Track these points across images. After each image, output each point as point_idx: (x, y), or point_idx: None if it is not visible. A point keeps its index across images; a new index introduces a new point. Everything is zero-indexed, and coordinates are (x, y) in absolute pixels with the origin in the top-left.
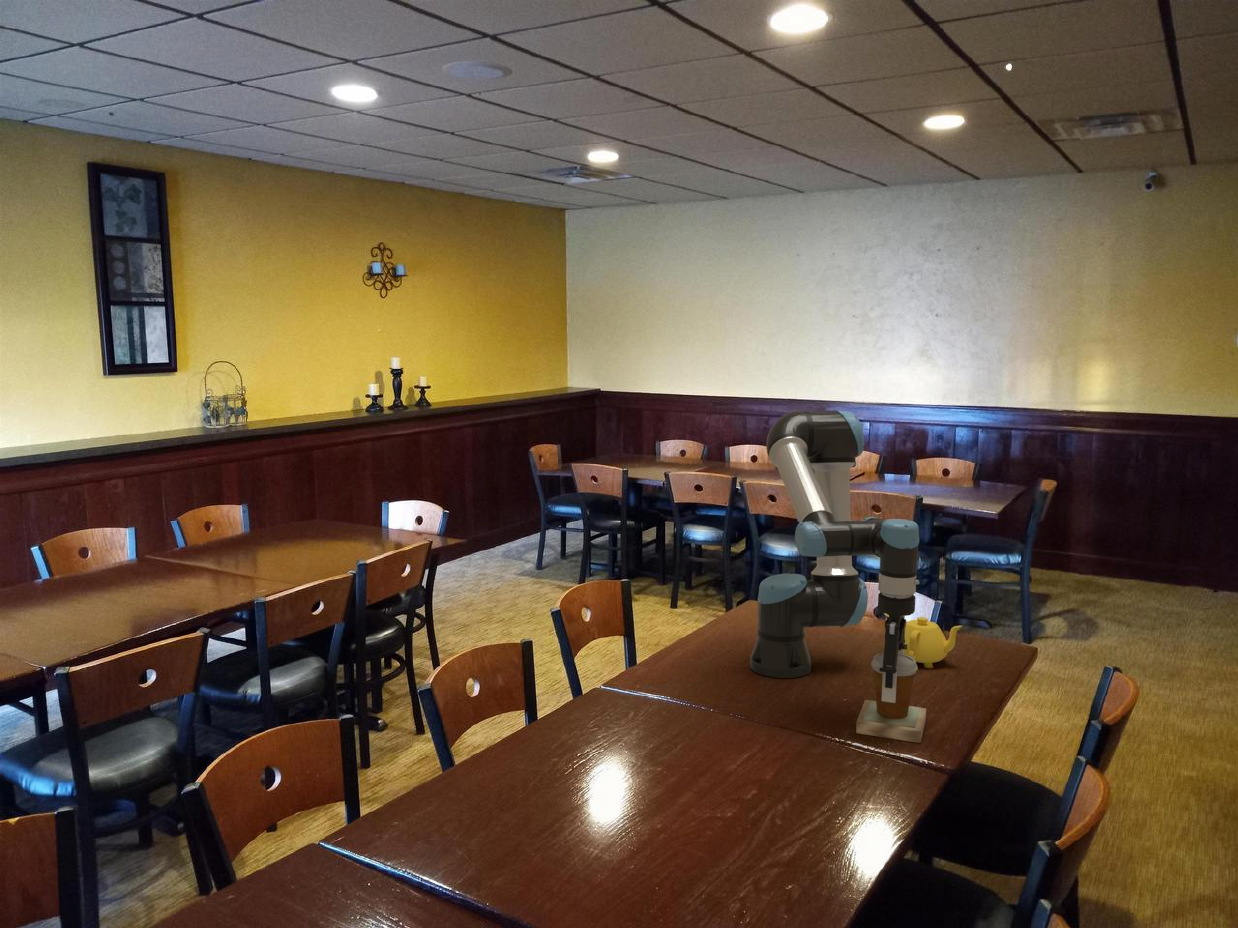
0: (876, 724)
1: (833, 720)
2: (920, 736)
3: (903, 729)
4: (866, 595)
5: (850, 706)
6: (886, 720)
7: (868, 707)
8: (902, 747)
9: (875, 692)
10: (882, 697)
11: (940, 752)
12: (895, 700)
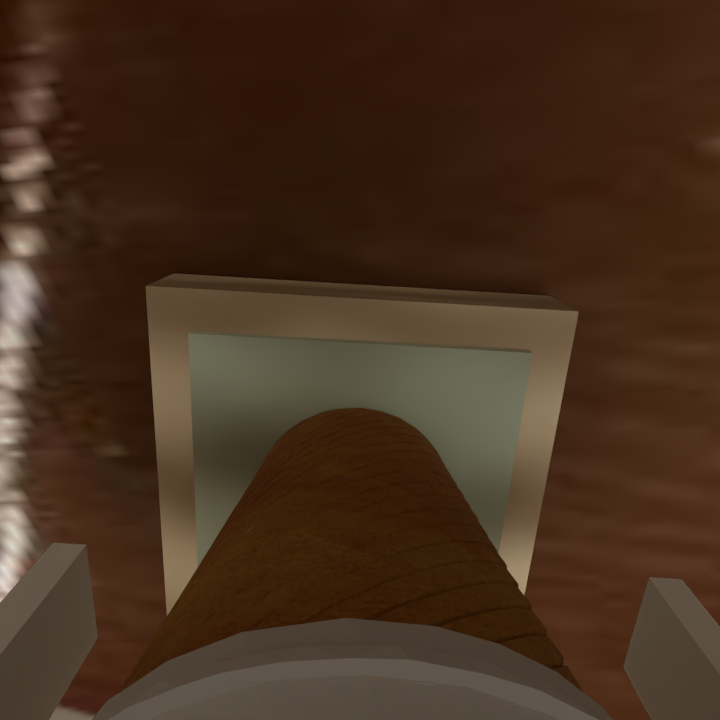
0: (157, 411)
1: (318, 105)
2: None
3: (163, 551)
4: None
5: (599, 198)
6: (225, 468)
7: (410, 347)
8: (96, 513)
9: (320, 465)
10: (36, 571)
11: (123, 656)
12: (89, 646)
